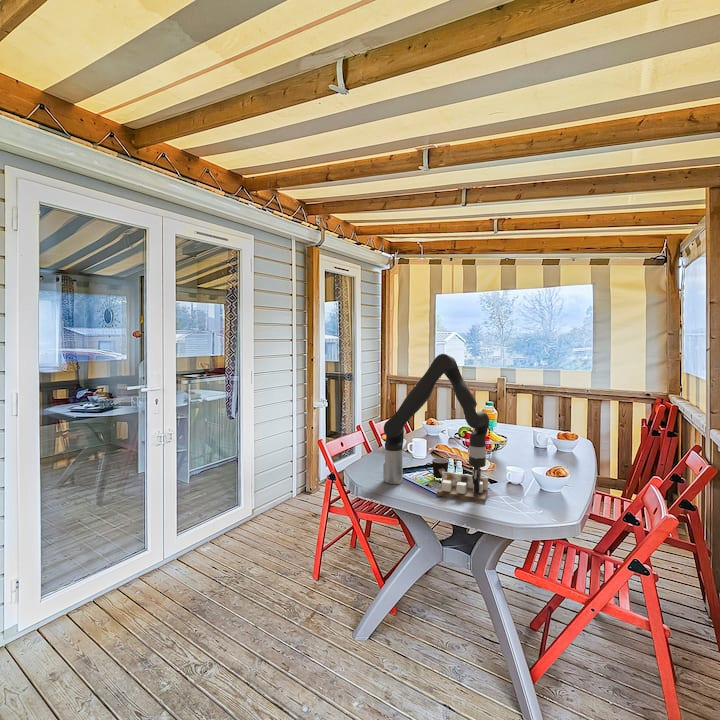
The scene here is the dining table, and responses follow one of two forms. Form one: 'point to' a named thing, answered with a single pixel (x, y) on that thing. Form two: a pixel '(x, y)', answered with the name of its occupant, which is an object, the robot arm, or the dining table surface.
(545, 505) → the dining table surface
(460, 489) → the switch middle
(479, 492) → the switch right
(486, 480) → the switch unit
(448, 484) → the switch left
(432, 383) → the robot arm
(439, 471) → the coffee mug
